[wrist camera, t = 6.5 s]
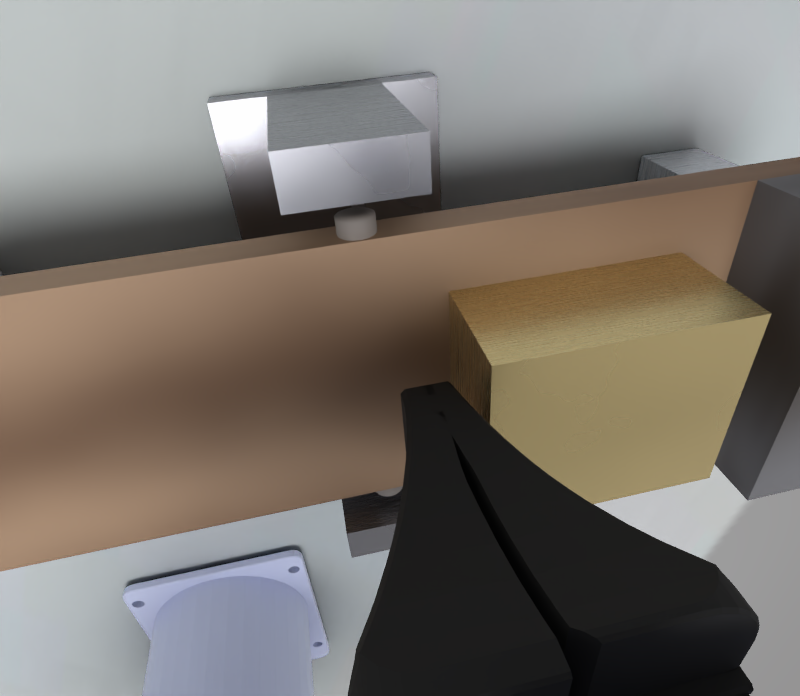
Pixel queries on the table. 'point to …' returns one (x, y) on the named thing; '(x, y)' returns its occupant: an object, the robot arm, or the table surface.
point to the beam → (336, 353)
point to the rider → (608, 369)
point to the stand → (352, 183)
